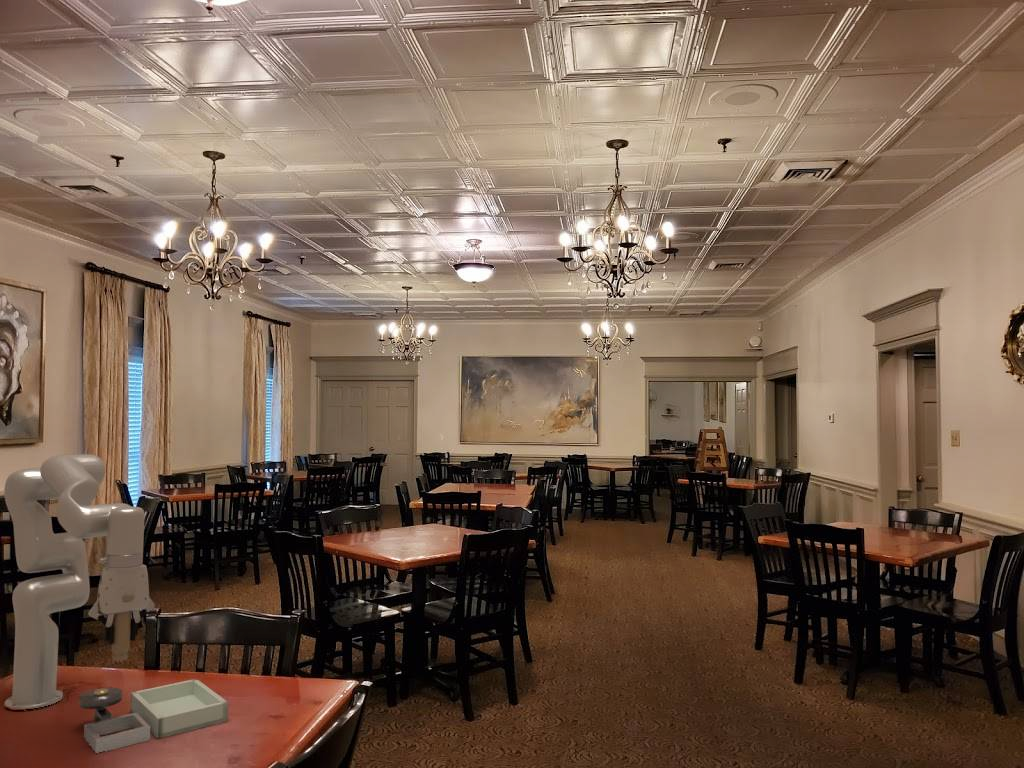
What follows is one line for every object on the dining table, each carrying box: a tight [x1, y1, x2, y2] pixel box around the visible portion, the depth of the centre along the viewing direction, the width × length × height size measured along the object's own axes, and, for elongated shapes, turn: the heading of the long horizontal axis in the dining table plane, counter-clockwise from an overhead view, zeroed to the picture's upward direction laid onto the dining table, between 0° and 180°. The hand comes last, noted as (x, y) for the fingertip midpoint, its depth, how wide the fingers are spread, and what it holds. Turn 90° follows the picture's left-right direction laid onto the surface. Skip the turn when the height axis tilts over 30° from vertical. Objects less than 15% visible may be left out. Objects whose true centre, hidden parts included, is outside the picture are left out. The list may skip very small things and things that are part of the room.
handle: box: [111, 595, 135, 662], centre depth 171 cm, size 5×6×15 cm
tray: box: [129, 678, 229, 740], centre depth 183 cm, size 22×16×4 cm
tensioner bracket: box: [78, 686, 151, 754], centre depth 173 cm, size 21×11×8 cm, turn 42°
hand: (121, 640), depth 171 cm, fingers closed on handle, 4 cm apart
